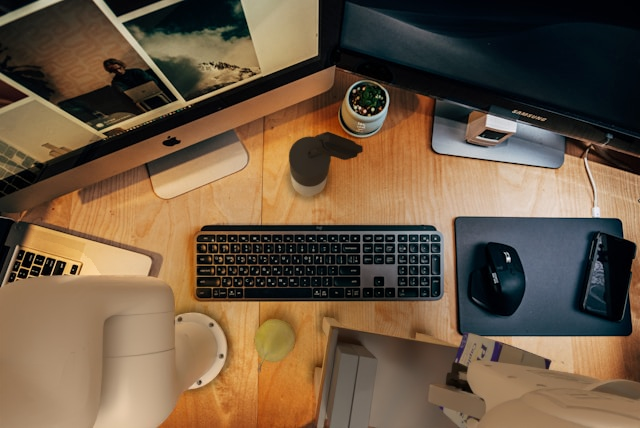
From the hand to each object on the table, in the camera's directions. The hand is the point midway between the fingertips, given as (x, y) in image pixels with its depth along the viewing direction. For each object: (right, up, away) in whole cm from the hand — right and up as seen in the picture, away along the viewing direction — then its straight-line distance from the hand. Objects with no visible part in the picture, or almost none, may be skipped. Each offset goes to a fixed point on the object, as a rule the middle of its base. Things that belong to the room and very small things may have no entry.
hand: (488, 385), depth 39 cm
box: (0, -1, +4) cm, 4 cm away
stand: (-6, -10, +38) cm, 40 cm away
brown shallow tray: (-5, -6, +16) cm, 18 cm away
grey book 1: (-13, -5, +15) cm, 21 cm away
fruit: (-23, -7, +38) cm, 45 cm away
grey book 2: (-11, -5, +15) cm, 19 cm away
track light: (-15, +22, +43) cm, 51 cm away
